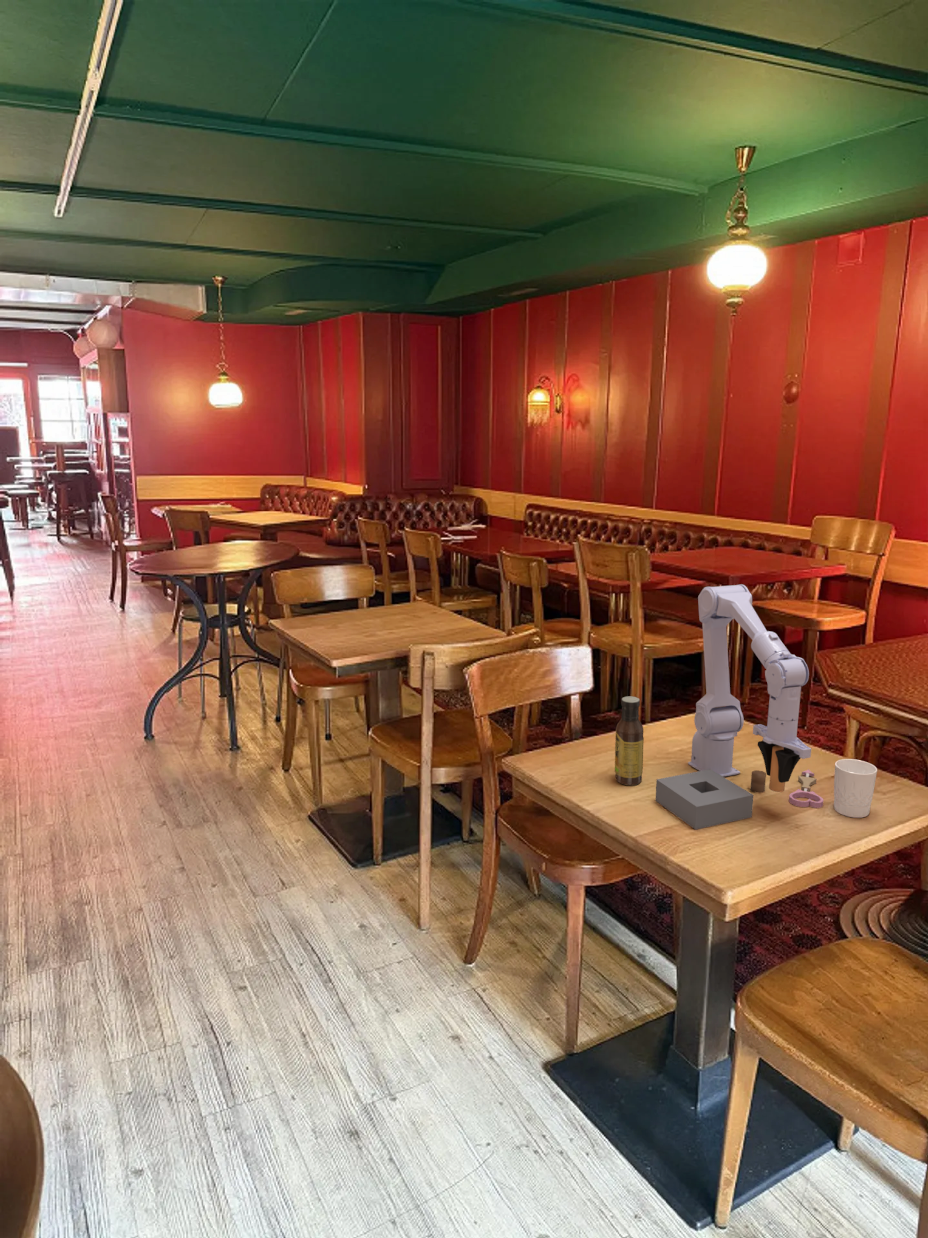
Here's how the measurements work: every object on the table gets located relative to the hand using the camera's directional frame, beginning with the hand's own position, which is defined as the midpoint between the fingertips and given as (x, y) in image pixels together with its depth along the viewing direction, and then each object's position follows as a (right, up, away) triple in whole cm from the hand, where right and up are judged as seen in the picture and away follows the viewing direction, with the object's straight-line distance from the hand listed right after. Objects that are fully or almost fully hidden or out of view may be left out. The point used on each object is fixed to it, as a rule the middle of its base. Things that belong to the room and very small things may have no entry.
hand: (777, 778), depth 169 cm
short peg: (0, -5, +12) cm, 13 cm away
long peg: (0, -2, +1) cm, 2 cm away
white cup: (+16, -7, +2) cm, 18 cm away
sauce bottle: (-28, -4, +18) cm, 33 cm away
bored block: (-15, -7, +4) cm, 17 cm away
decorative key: (+14, -4, +12) cm, 19 cm away
